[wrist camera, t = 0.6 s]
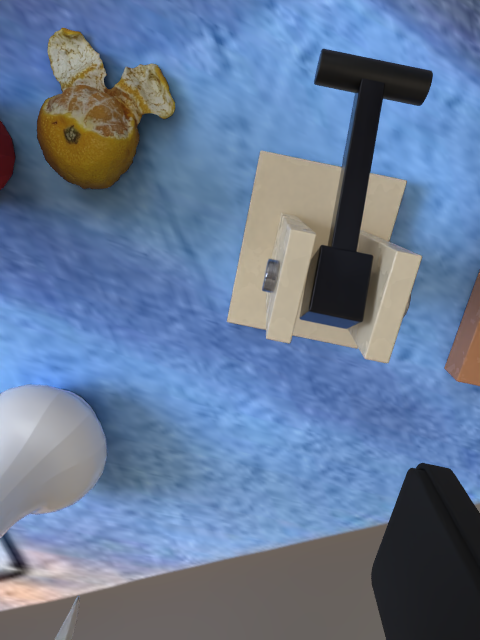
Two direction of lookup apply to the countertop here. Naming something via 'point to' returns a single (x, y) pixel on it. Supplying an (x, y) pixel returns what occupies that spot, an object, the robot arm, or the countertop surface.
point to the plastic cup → (6, 156)
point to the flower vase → (47, 457)
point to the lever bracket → (303, 242)
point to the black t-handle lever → (354, 183)
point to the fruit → (95, 113)
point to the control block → (467, 343)
